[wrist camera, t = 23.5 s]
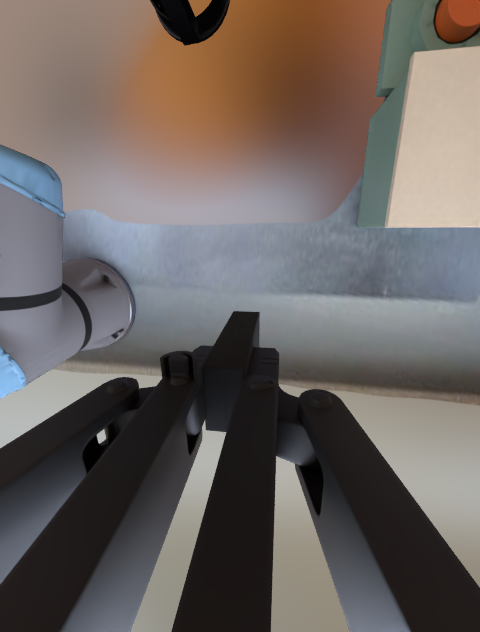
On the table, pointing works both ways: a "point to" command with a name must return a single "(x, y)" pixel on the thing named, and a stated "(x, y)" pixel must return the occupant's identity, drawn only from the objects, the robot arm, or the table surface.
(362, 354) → the table surface
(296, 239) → the table surface
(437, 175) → the lid
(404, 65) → the control block
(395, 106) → the coffee maker
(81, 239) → the table surface
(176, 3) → the french press
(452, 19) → the button
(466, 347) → the table surface
